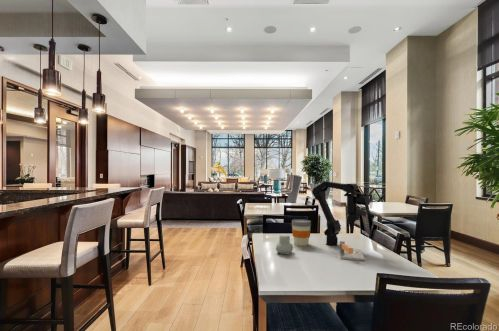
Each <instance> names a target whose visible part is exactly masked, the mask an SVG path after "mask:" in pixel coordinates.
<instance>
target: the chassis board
mask: <svg viewBox="0 0 499 331" xmlns="http://www.w3.org/2000/svg"><path fill="white" fill-rule="evenodd" d="M362 250H363V249H362V248H353V254H349V253H348V252H346V251H345V250H343V249H341V248H340V247H339V254H340V259H341V260H348V261H349V260H350V261H358V262H365V261H366V260H365V256H364V253H363V251H362Z"/></svg>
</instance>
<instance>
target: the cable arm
mask: <svg viewBox="0 0 499 331" xmlns="http://www.w3.org/2000/svg"><path fill="white" fill-rule="evenodd" d="M340 248H341V249H343V250H345V251H346V252H348V253H349V254H353V249H354V247H352V246H350V245H348V244H347V243H346V241H343V240H341V241H340V240H339V249H340Z"/></svg>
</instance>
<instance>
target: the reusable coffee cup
mask: <svg viewBox="0 0 499 331" xmlns="http://www.w3.org/2000/svg"><path fill="white" fill-rule="evenodd" d="M311 226H312V221H311V220H308V219H302V218H301V219H299V218H297V219H296V218H295V219H292V220H291V227H292V228H291V232H292V237H293V243H294V245H295V246H303V247H304V246H308V245H309V241H310V240H309V239H310V237H311Z"/></svg>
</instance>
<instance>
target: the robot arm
mask: <svg viewBox="0 0 499 331" xmlns="http://www.w3.org/2000/svg"><path fill="white" fill-rule="evenodd" d="M329 188H330V189H331V188H332V189H335V190H341V191H343V192H345V194H343V196H344V197H347V198H346V211H345V216H346V219H347V223H348V225H349V228H350V230H354V226H355V222H356V221H359V220H360V219H359V218H360V217H359V215H360V216H363V218H366V216H367V214H368V211H366V210H365V208H364V207H361V208H360V207H359V206H369V205H370V203H371V198H370V196H369V193H362V191H361V190H360V188H359V186H358V184H357V183H341V182H336V181H335V182H334V181H329V180H324V181H322V182H321V183H320V184H318V185H317V186H315V187H314V188H312V191H311V194H312V195H313V197H314V198H315V200H317V201H318V203H319V206H320V208H321V210H322V213H323V215H324V217H325V219H326V229H325V230H324V231H323V233H324V236H326V245H325V246H333V247H337V246H338V243H339V242H338V239H339V237H338V235H339V233H340V232H341V229H342V225H341V223H340V221H339V219H335V218H334V215H333V213H332V211H331V208H330V206H329V204H328V202H327V199H326V196H327V195H326V192H327V190H328V189H329ZM358 205H359V206H358Z"/></svg>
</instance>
